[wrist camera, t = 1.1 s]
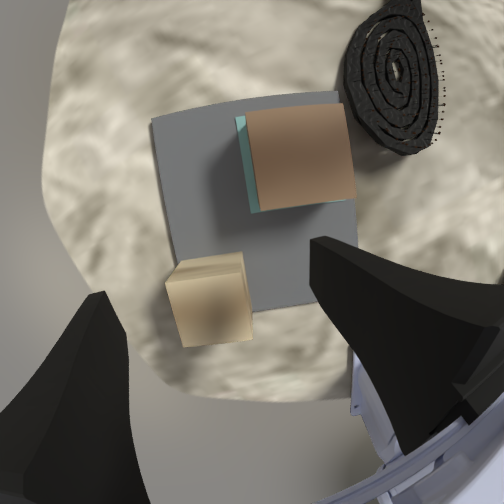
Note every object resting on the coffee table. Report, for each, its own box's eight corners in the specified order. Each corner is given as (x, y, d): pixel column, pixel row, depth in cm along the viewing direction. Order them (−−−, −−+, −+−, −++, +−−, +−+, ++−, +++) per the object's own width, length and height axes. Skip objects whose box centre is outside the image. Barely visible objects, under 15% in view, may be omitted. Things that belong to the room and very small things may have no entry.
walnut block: (336, 192, 19) (356, 198, 16) (258, 203, 20) (260, 211, 16) (325, 115, 18) (342, 103, 14) (245, 124, 18) (245, 112, 14)
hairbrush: (447, -43, 11) (450, 172, 16) (431, -29, 15) (422, 172, 20) (372, -81, 10) (343, 126, 15) (361, -62, 14) (327, 136, 19)
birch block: (252, 308, 22) (252, 339, 17) (194, 315, 22) (183, 347, 18) (242, 251, 21) (240, 272, 16) (181, 260, 21) (165, 283, 16)
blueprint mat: (357, 290, 22) (360, 293, 21) (192, 316, 22) (191, 320, 22) (335, 92, 18) (338, 90, 18) (153, 119, 18) (150, 118, 18)
